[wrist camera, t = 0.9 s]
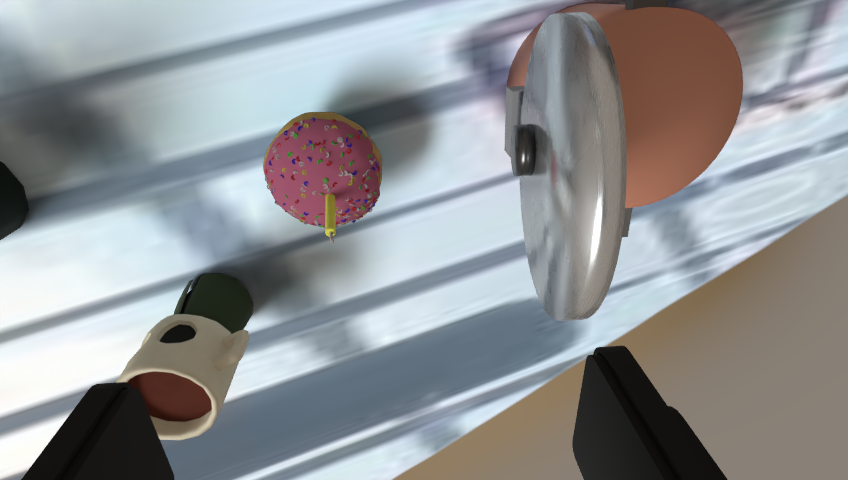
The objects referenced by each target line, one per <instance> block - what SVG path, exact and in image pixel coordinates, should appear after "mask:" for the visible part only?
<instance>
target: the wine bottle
mask: <svg viewBox="0 0 848 480" xmlns="http://www.w3.org/2000/svg"><path fill="white" fill-rule="evenodd" d="M28 210H29V208H28V204H27V199H26V195H25V191H24V187H23V185H22V184H21V183H20V182H19V181H18V179H17V178H16V177H15V176H14V175H13V174H12V173H11V171H10V170H9V169H8V168H7V167H6V166H5V164H4V163H2V162H0V240H1V239H3V238H4V237H6V236H8V235H9V234H11V233H12V232H14V231H15V230H17V229H18V228H20V226H21V224H22V222H23V220H24V218H25V216H26V214H27V212H28Z"/></svg>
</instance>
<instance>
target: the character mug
mask: <svg viewBox="0 0 848 480" xmlns="http://www.w3.org/2000/svg"><path fill="white" fill-rule="evenodd" d="M192 281H193V280H191V281H189V283H188V285H187V286H186V288H185V289H184V291H183V293H182V295H181V297H180V299H179V301H178V304H177V306H176V309H175V312H174V314H173V315H171V316H168V317H166V318H164V319H163V320H161V321H160V322H159V323H158V324H156V325H155V326H154V327H153V328H152V329H151V330H150V331H149V332H148V333H147V335H146V337H145V339H144V341H143V343H142V346H141V348H140V349H139V351H138V352H137V353H136V354H135V355H134V356H133V357H132V358H131V359H130V361H129V362H128V364H127V366H126V368H125V369H124V371H123V372H122V374H121V375H120V377H119V378H118V380H117V382H116V383H118V382H128V383H129V384H131V386H132V388H133V389H138V390H139V391H140V393H141V395H142V397H143V400H144V402H145V405H146V407H147V410H148V412H149V414H150V417H151V419H152V422H153V424H154V427H155V429H156V432H157V434H158V437H159V439H162V440H183V439H187V438H191V437H196V436H199V435H200V434H202V433H203V432H205V431H206V430H208V429H209V428H211V427H212V425H213V423H214V422H215V420H216V418H217V416H218V414H219V412H220V410H221V408H222V405H223V403H224V400H225V397H226V395H227V392H228V389H229V387H230V384H231V381H232V379H233V376H234V373H235V371H236V368H237V365H238V363H239V361H240V360H241V358H242V357H243V354H244V352H245V349H246V346H247V343H248V341H249V334H248V331H246V330H243V329H244V327H245V326H246V324H247V322H248V321H249V319H250V317H251V315H252V311H253V301H252V299H251V297H250V295H249V293H248V291H247V290H246V289H245V288H244V287H243V286H242V285H241V284H240V283H239V282H238V281H237V280H236V279H235V278H232V277H229V276H226V275H223V274H220V273H218V274H203V275H201V277H200V279H199V281H198V283H197V285H196V286H195V287H194V288H193V289H192V290H191V291H189V292H188V290H189V287H190V285H191V283H192ZM187 292H188V293H187ZM186 294H187V295H186Z"/></svg>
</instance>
